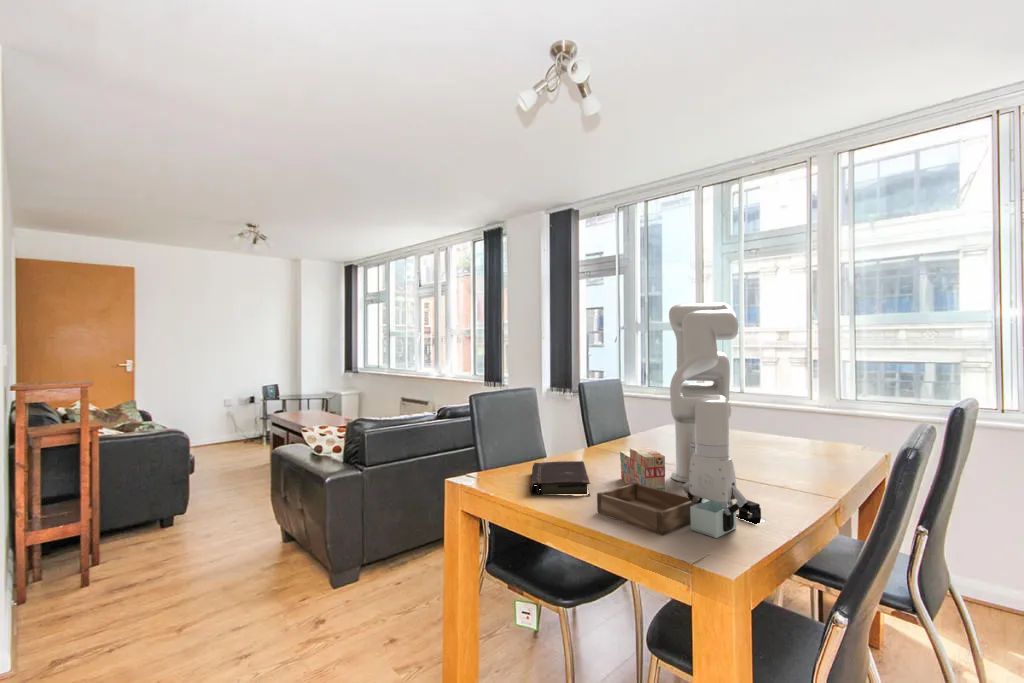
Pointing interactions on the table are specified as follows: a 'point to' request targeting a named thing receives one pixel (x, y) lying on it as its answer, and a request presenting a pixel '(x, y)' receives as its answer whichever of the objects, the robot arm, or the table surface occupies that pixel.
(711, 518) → the small crate
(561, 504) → the table surface
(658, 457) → the stack of blocks
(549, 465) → the diary
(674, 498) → the big crate
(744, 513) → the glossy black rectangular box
